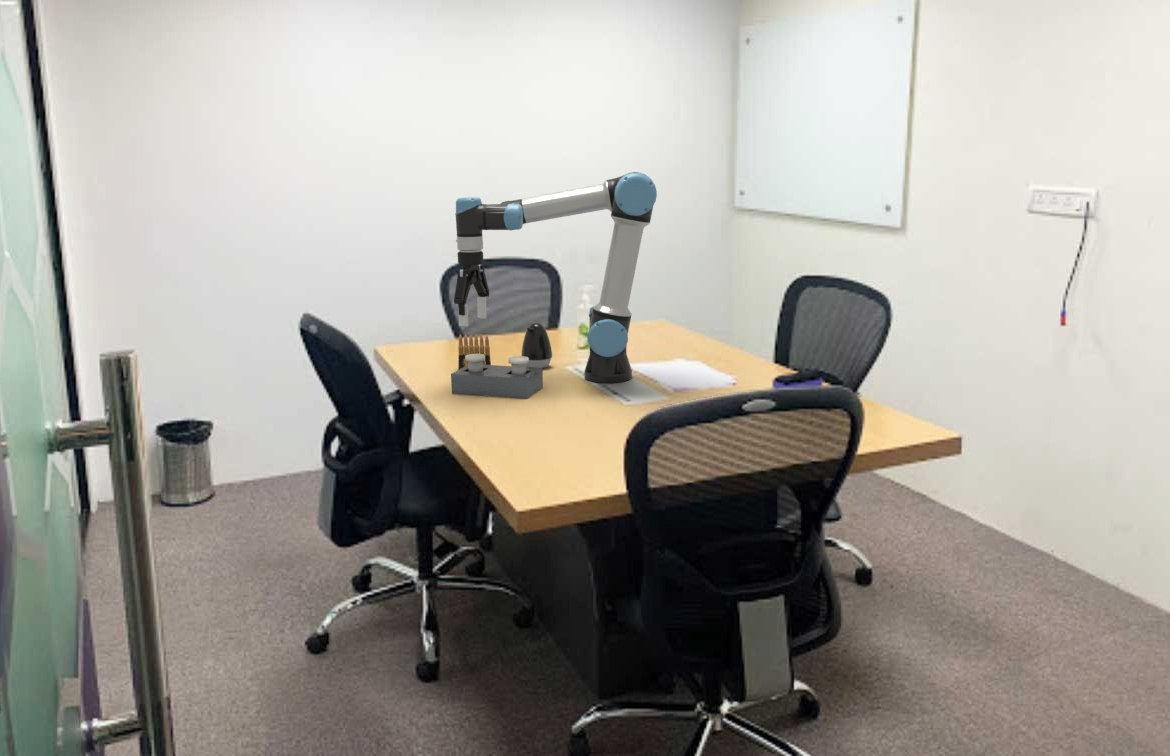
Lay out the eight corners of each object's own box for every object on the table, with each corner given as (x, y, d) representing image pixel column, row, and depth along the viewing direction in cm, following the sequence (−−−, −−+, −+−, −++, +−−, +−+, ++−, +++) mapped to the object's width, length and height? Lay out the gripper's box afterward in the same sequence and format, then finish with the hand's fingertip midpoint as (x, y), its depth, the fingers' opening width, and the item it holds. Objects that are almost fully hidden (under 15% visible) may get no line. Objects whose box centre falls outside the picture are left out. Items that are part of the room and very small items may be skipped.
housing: (542, 387, 287) (542, 368, 285) (526, 398, 274) (526, 378, 272) (470, 382, 294) (469, 363, 292) (451, 393, 281) (450, 373, 279)
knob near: (532, 379, 283) (531, 356, 281) (525, 384, 277) (524, 361, 276) (513, 378, 285) (512, 355, 283) (506, 382, 279) (505, 359, 277)
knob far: (489, 376, 287) (488, 354, 285) (481, 381, 281) (480, 358, 280) (471, 375, 289) (470, 353, 287) (462, 380, 283) (462, 357, 281)
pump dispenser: (515, 369, 311) (514, 324, 307) (531, 362, 320) (530, 319, 316) (542, 372, 306) (541, 326, 303) (557, 365, 315) (557, 321, 312)
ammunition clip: (458, 370, 311) (456, 334, 308) (459, 368, 313) (458, 333, 310) (490, 370, 310) (489, 334, 307) (491, 369, 312) (490, 333, 309)
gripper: (475, 246, 289) (478, 314, 294) (439, 254, 266) (443, 328, 271) (498, 246, 287) (500, 315, 292) (464, 255, 264) (467, 329, 269)
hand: (473, 322), depth 281 cm, fingers open, 13 cm apart
